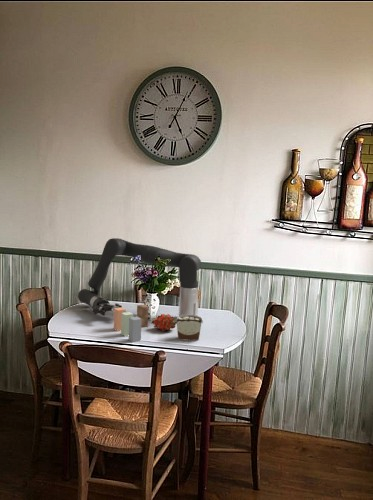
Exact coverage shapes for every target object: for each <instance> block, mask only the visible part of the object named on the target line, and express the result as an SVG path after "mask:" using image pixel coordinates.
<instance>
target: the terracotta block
mask: <svg viewBox="0 0 373 500" xmlns="http://www.w3.org/2000/svg"><path fill="white" fill-rule="evenodd" d="M124 312H127V311H126V309H125V308H124V307H123V306H122V307H120V308H114V312H113V330H115V329H116V330H117V331H116V330H115V331H116V332H121V331H120V330H121V313H124Z"/></svg>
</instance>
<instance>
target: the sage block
mask: <svg viewBox="0 0 373 500" xmlns="http://www.w3.org/2000/svg"><path fill="white" fill-rule="evenodd" d="M130 317H134V313H132V312H130V311H126V312H124V313H121V331H120V335H121V336H123V335H124V336H126V337H129V336H128V335H129V318H130ZM124 336H123V337H124Z"/></svg>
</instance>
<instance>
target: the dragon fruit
mask: <svg viewBox="0 0 373 500" xmlns="http://www.w3.org/2000/svg"><path fill="white" fill-rule="evenodd" d="M151 324H153V328H154V329H156V330H159V331H162V332H166V331H167V332H169V331H171V329H172V330H173V329H175V328H177V321H176V319H175V317H174V316H171V315H170V314H168V313H165V314H164V313H162V314H161V313H160V315H158V316H157V317H156V318H154V319H153V320H152V321H151Z"/></svg>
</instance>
